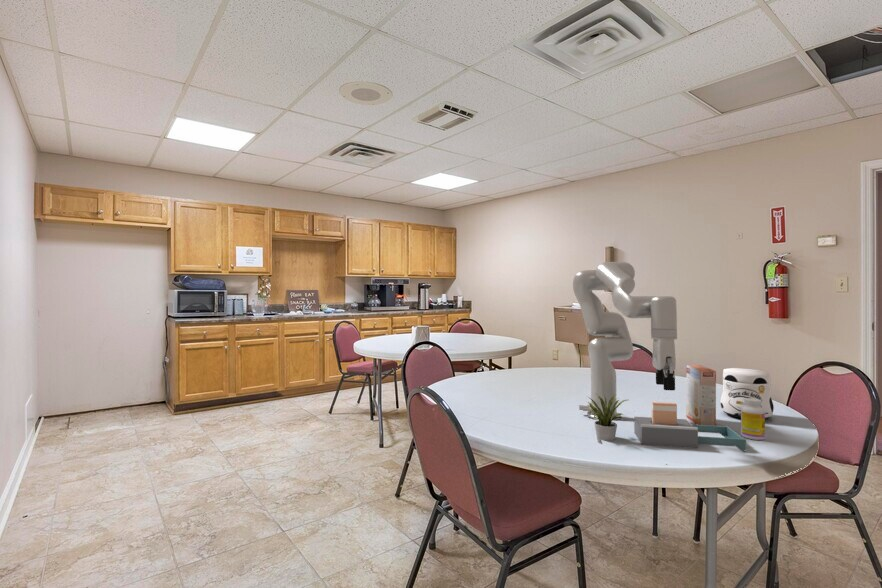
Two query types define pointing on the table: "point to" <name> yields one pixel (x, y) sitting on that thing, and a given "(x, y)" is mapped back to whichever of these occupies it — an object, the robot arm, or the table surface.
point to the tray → (729, 439)
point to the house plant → (605, 419)
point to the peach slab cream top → (664, 413)
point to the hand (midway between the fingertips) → (665, 387)
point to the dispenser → (666, 433)
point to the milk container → (745, 390)
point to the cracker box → (701, 395)
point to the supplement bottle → (752, 419)
